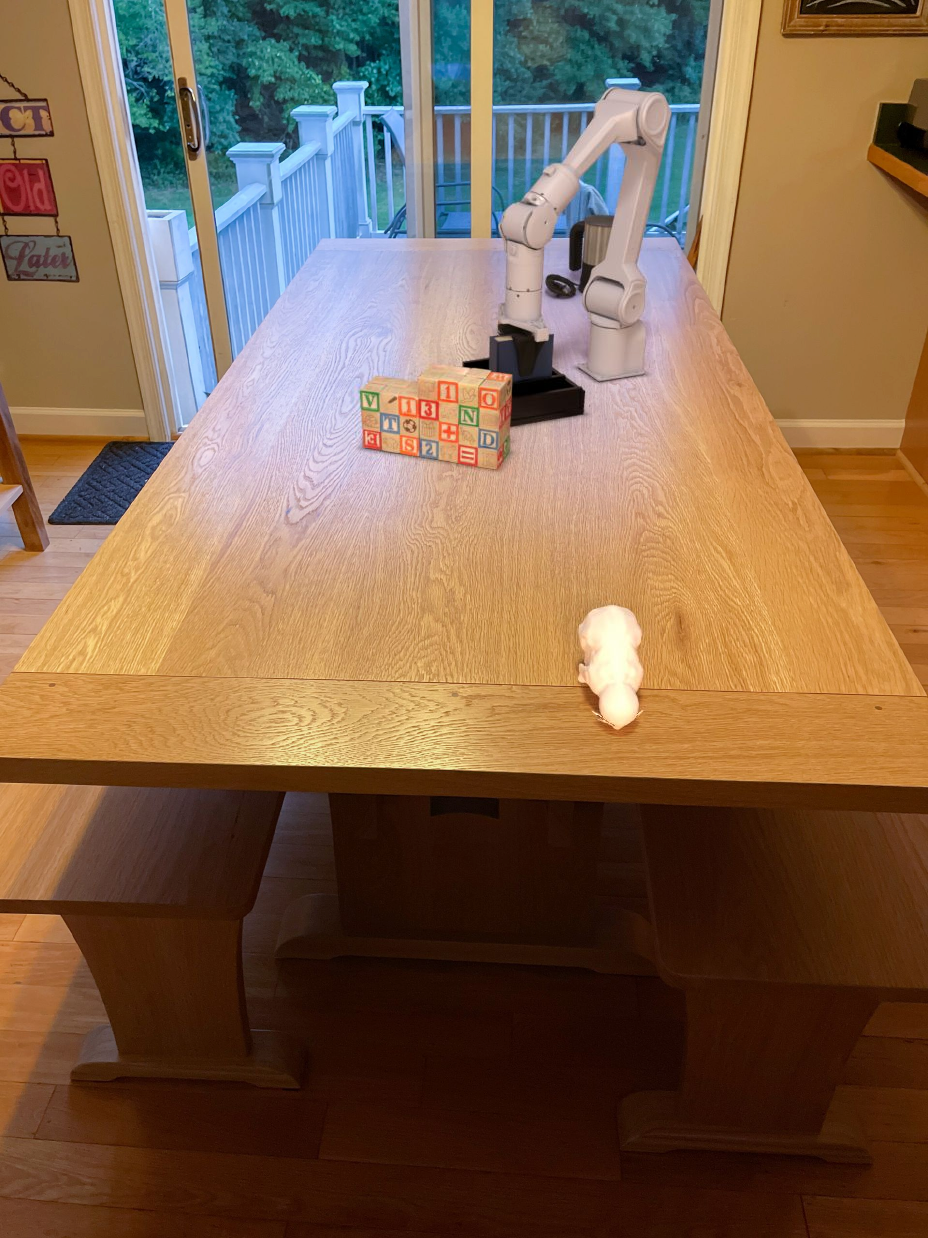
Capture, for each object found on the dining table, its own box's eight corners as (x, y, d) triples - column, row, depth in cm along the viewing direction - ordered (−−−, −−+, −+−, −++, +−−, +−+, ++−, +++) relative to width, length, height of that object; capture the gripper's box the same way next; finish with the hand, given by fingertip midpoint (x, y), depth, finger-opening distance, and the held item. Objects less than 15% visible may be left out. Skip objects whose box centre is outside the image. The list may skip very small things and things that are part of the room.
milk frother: (628, 288, 213) (635, 217, 205) (596, 306, 202) (602, 232, 194) (570, 278, 219) (575, 209, 211) (537, 295, 208) (540, 223, 200)
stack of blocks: (361, 448, 145) (357, 369, 138) (378, 432, 150) (374, 354, 143) (498, 470, 139) (500, 388, 132) (510, 452, 144) (513, 372, 137)
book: (543, 375, 162) (545, 328, 157) (551, 382, 159) (554, 334, 155) (488, 384, 158) (489, 336, 154) (496, 390, 156) (497, 342, 151)
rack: (533, 375, 170) (534, 350, 167) (583, 414, 156) (585, 387, 153) (459, 386, 165) (459, 361, 163) (504, 427, 151) (505, 400, 149)
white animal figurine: (642, 595, 96) (663, 679, 87) (632, 658, 102) (651, 743, 93) (579, 596, 96) (593, 680, 87) (572, 659, 102) (585, 744, 92)
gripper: (481, 277, 154) (480, 360, 162) (520, 302, 143) (517, 390, 151) (521, 272, 156) (518, 354, 164) (563, 297, 145) (557, 383, 153)
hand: (520, 371), depth 158 cm, fingers closed on book, 3 cm apart
